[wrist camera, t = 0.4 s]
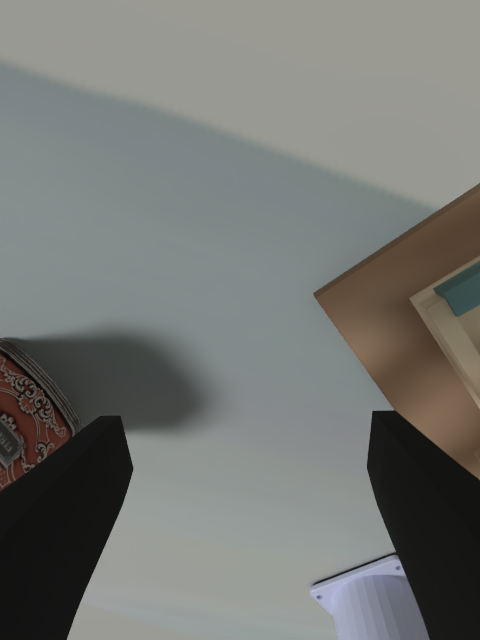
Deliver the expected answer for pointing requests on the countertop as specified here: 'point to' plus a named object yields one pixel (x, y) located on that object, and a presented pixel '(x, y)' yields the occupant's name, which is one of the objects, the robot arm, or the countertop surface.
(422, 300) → the beam
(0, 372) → the red tin
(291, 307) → the countertop surface
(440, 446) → the stand
